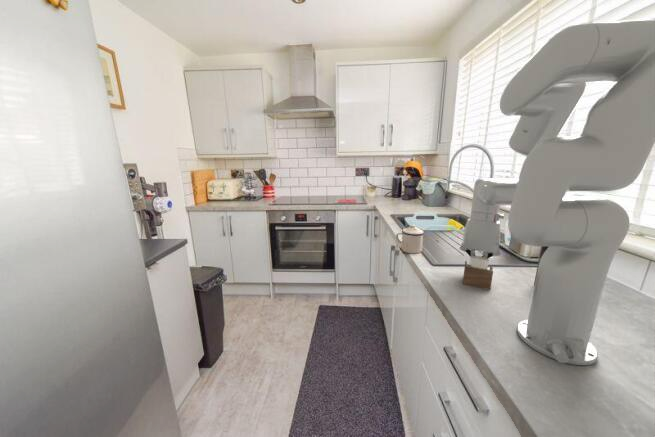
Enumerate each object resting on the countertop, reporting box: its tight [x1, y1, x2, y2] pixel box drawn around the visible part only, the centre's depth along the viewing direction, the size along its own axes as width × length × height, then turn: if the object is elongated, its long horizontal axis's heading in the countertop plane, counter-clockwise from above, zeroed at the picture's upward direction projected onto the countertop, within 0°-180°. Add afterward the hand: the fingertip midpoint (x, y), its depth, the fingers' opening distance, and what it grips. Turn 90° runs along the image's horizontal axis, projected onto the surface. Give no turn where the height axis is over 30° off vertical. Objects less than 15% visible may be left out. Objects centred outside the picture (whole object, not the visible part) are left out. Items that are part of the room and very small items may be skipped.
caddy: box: [462, 260, 494, 291], centre depth 77 cm, size 5×7×6 cm
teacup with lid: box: [395, 224, 425, 255], centre depth 107 cm, size 12×9×12 cm
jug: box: [468, 254, 489, 270], centre depth 79 cm, size 8×5×8 cm, turn 150°
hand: (476, 268), depth 82 cm, fingers closed on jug, 1 cm apart
